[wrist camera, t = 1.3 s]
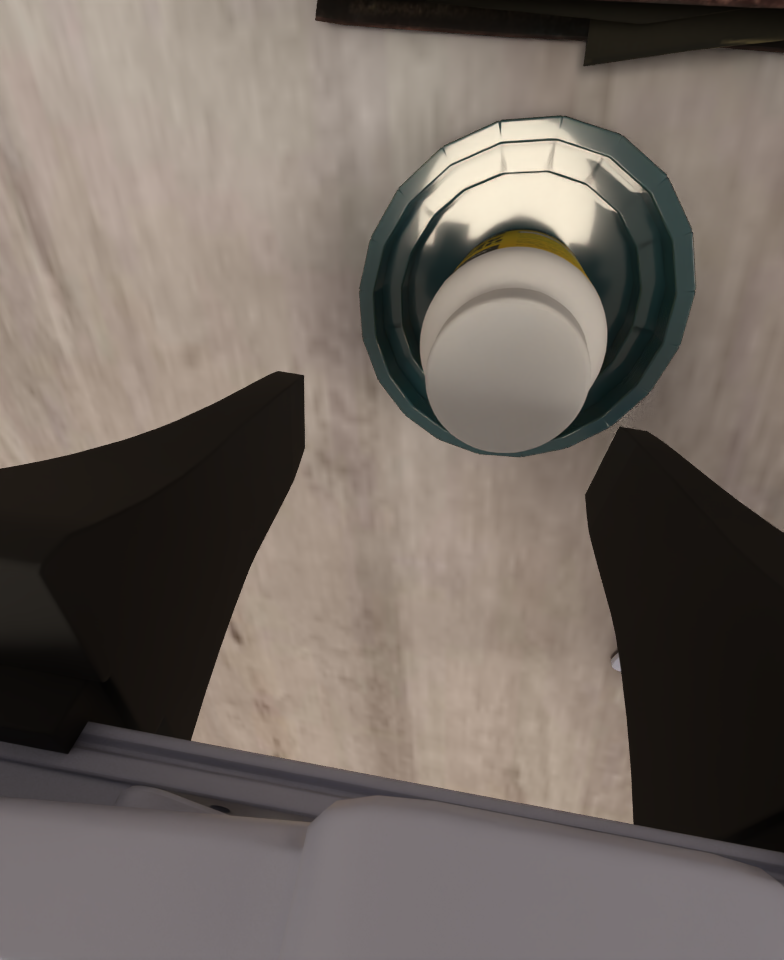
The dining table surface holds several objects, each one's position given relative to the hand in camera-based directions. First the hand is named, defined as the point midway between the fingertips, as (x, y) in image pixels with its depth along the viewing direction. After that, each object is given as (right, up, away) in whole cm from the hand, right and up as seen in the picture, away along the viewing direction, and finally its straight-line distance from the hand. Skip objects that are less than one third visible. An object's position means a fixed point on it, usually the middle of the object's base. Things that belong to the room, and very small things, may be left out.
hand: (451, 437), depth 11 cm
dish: (+4, +7, +9) cm, 12 cm away
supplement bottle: (+4, +7, +9) cm, 12 cm away
